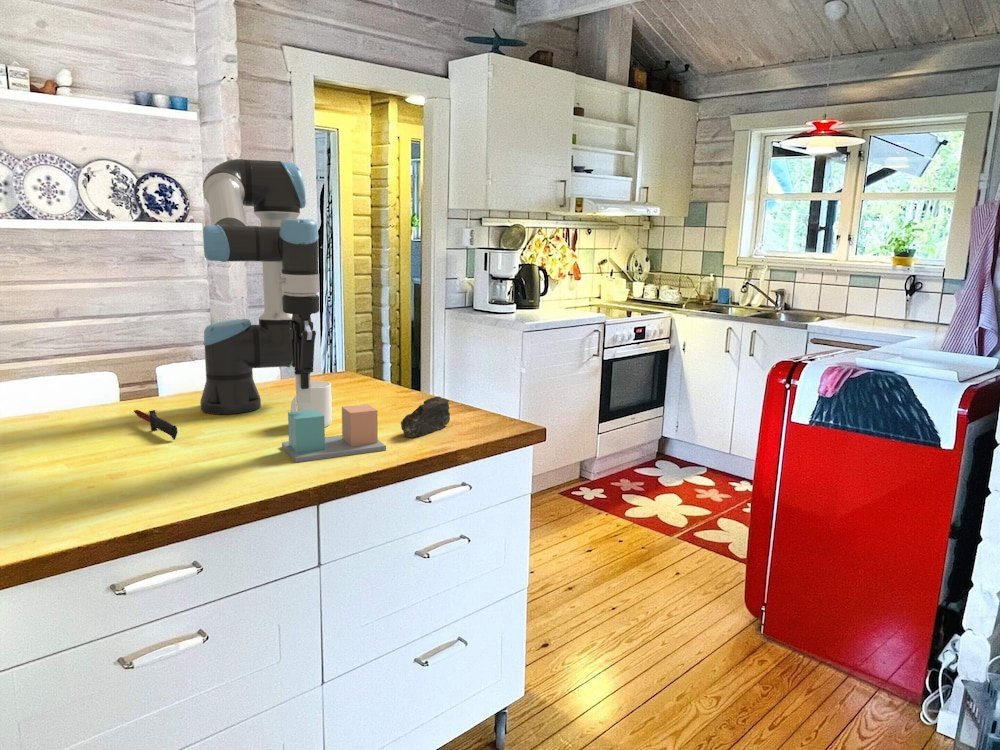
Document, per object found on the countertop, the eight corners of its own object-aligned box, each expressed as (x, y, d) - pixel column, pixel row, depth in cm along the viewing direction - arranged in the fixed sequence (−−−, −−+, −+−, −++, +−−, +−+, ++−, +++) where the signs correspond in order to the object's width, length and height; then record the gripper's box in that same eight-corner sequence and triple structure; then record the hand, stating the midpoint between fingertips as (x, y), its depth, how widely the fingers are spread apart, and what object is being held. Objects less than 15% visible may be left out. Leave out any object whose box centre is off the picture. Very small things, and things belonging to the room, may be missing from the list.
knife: (178, 441, 161) (177, 420, 160) (171, 442, 160) (170, 421, 159) (137, 420, 177) (135, 400, 176) (131, 421, 176) (129, 401, 175)
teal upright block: (289, 445, 157) (287, 412, 155) (316, 441, 160) (316, 409, 158) (296, 453, 152) (295, 419, 150) (325, 449, 155) (324, 415, 153)
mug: (304, 434, 169) (303, 392, 167) (279, 429, 173) (277, 387, 171) (338, 423, 179) (338, 383, 177) (314, 418, 183) (313, 379, 181)
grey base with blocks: (282, 446, 159) (280, 409, 157) (367, 436, 169) (367, 400, 167) (295, 462, 149) (294, 422, 147) (386, 450, 159) (385, 412, 157)
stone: (425, 421, 183) (396, 438, 169) (426, 391, 181) (397, 406, 167) (450, 426, 180) (423, 444, 167) (451, 395, 178) (424, 410, 165)
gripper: (275, 290, 153) (278, 396, 158) (290, 298, 142) (293, 411, 148) (309, 290, 157) (312, 393, 162) (327, 297, 146) (329, 407, 151)
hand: (303, 402), depth 155 cm, fingers closed
